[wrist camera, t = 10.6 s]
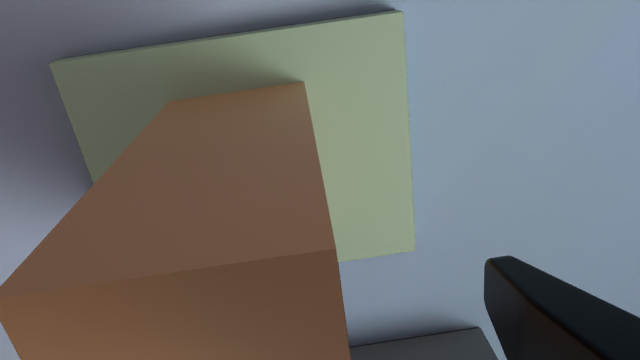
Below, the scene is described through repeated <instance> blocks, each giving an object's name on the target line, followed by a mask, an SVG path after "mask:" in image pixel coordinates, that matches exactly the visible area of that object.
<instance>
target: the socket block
mask: <svg viewBox="0 0 640 360" xmlns="http://www.w3.org/2000/svg"><path fill="white" fill-rule="evenodd" d="M349 349H350V357H351V360H498V358H497V357H496V355H495V353H494V351H493V349H492V348H491V346H490V344H489V342H488V340H487V339H486V337H485V335H484V333H483V331H482V330H481V328H475V329H468V330H462V331H455V332H449V333H442V334H436V335H429V336H423V337H416V338H410V339H403V340H397V341H390V342H384V343H377V344H371V345H364V346H358V347H351V348H349Z"/></svg>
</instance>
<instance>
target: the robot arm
mask: <svg viewBox="0 0 640 360" xmlns="http://www.w3.org/2000/svg"><path fill="white" fill-rule="evenodd" d="M484 302H485V306H486V310H487V312H488V315H489V317H490V319H491V322H492V324H493V327H494V329H495V331H496V334H497V336H498V339H499V341H500V343H501V346H502V348H503V351H504V353H505V356H506V358H507V360H640V318H639V317H637V316H635V315H633V314H631V313H629V312H627V311H625V310H623V309H620V308H618V307H616V306H614V305H612V304H610V303H608V302H606V301H604V300H602V299H600V298H598V297H596V296H593V295H591V294H589V293H587V292H585V291H583V290H581V289H579V288H577V287H575V286H573V285H571V284H569V283H566V282H564V281H562V280H560V279H558V278H556V277H554V276H552V275H550V274H548V273H546V272H544V271H542V270H539V269H537V268H535V267H533V266H531V265H529V264H527V263H525V262H523V261H521V260H519V259H517V258H515V257H512V256H501V257H495V258H489V259H488V260H487V261H486V263H485V268H484Z"/></svg>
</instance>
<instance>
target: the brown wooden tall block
mask: <svg viewBox="0 0 640 360" xmlns="http://www.w3.org/2000/svg"><path fill="white" fill-rule="evenodd" d="M0 322H1V323H2V325H3V327H4V329H5V331H6V333H7V335H8V337H9V338H10V340H11V342H12V344H13V346H14V348H15V350H16V352H17V353H18V355H19V357H20V359H21V360H351V357H350V349H349V342H348V334H347V327H346V319H345V312H344V304H343V296H342V289H341V281H340V274H339V266H338V259H337V251H336V245H335V240H334V235H333V229H332V224H331V219H330V214H329V208H328V203H327V198H326V193H325V187H324V182H323V177H322V172H321V167H320V161H319V156H318V151H317V146H316V140H315V135H314V130H313V125H312V119H311V114H310V109H309V104H308V99H307V93H306V88H305V83H304V82H300V83H293V84H286V85H279V86H272V87H265V88H258V89H251V90H244V91H237V92H230V93H223V94H216V95H209V96H202V97H195V98H188V99H181V100H174V101H169V102H168V103H167V104H166V105H165V106H164V107H163V108H162V109H161V110H160V112H159V113H158V114H157V115H156V116H155V117H154V118H153V119H152V120H151V121H150V123H149V124H148V125H147V126H146V127H145V128H144V129H143V130H142V131H141V132H140V134H139V135H138V136H137V137H136V138H135V139H134V140H133V141H132V142H131V143H130V145H129V146H128V147H127V148H126V149H125V150H124V151H123V152H122V153H121V155H120V156H119V157H118V158H117V159H116V160H115V161H114V162H113V163H112V164H111V166H110V167H109V168H108V169H107V170H106V171H105V172H104V173H103V174H102V175H101V177H100V178H99V179H98V180H97V181H96V182H95V183H94V184H93V185H92V186H91V188H90V189H89V190H88V191H87V192H86V193H85V194H84V195H83V196H82V197H81V199H80V200H79V201H78V202H77V203H76V204H75V205H74V206H73V207H72V208H71V210H70V211H69V212H68V213H67V214H66V215H65V216H64V217H63V218H62V220H61V221H60V222H59V223H58V224H57V225H56V226H55V227H54V228H53V229H52V231H51V232H50V233H49V234H48V235H47V236H46V237H45V238H44V239H43V240H42V242H41V243H40V244H39V245H38V246H37V247H36V248H35V249H34V250H33V251H32V253H31V254H30V255H29V256H28V257H27V258H26V259H25V260H24V261H23V262H22V264H21V265H20V266H19V267H18V268H17V269H16V270H15V271H14V272H13V273H12V275H11V276H10V277H9V278H8V279H7V280H6V281H5V282H4V283H3V285H2V286H1V287H0Z"/></svg>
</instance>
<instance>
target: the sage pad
mask: <svg viewBox="0 0 640 360" xmlns="http://www.w3.org/2000/svg"><path fill="white" fill-rule="evenodd" d="M48 64H49V66H50V69H51V72H52V74H53V77H54V80H55V82H56V85H57V88H58V90H59V93H60V96H61V98H62V101H63V104H64V107H65V109H66V112H67V115H68V117H69V120H70V123H71V125H72V128H73V131H74V133H75V136H76V139H77V141H78V144H79V147H80V149H81V152H82V155H83V158H84V160H85V163H86V166H87V168H88V171H89V174H90V176H91V179H92V182H93V184H94V183H95V182H96V181H97V180H98V179H99V178H100V177H101V175H102V174H103V173H104V172H105V171H106V170H107V169H108V168H109V167H110V166H111V164H112V163H113V162H114V161H115V160H116V159H117V158H118V157H119V156H120V155H121V153H122V152H123V151H124V150H125V149H126V148H127V147H128V146H129V145H130V143H131V142H132V141H133V140H134V139H135V138H136V137H137V136H138V135H139V134H140V132H141V131H142V130H143V129H144V128H145V127H146V126H147V125H148V124H149V123H150V121H151V120H152V119H153V118H154V117H155V116H156V115H157V114H158V113H159V112H160V110H161V109H162V108H163V107H164V106H165V105H166V104H167V103H168V102H169V101H174V100H181V99H188V98H195V97H202V96H209V95H216V94H223V93H230V92H237V91H244V90H251V89H258V88H265V87H272V86H279V85H286V84H293V83H300V82H304V83H305V88H306V93H307V99H308V104H309V109H310V114H311V119H312V125H313V130H314V135H315V140H316V146H317V151H318V156H319V161H320V167H321V172H322V177H323V182H324V187H325V193H326V198H327V203H328V208H329V214H330V219H331V224H332V229H333V235H334V240H335V245H336V251H337V259H338V262H344V261H351V260H357V259H364V258H371V257H377V256H384V255H390V254H397V253H403V252H410V251H416V244H415V225H414V205H413V186H412V167H411V148H410V128H409V109H408V90H407V70H406V51H405V32H404V13H403V12H402V11H399V10H392V11H386V12H379V13H372V14H365V15H358V16H351V17H344V18H337V19H331V20H324V21H317V22H310V23H303V24H296V25H289V26H282V27H276V28H269V29H262V30H255V31H248V32H241V33H234V34H227V35H221V36H214V37H207V38H200V39H193V40H186V41H179V42H172V43H166V44H159V45H152V46H145V47H138V48H131V49H124V50H118V51H111V52H104V53H97V54H90V55H83V56H76V57H69V58H63V59H59V60H56V61H54V62H51V63H48Z"/></svg>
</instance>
